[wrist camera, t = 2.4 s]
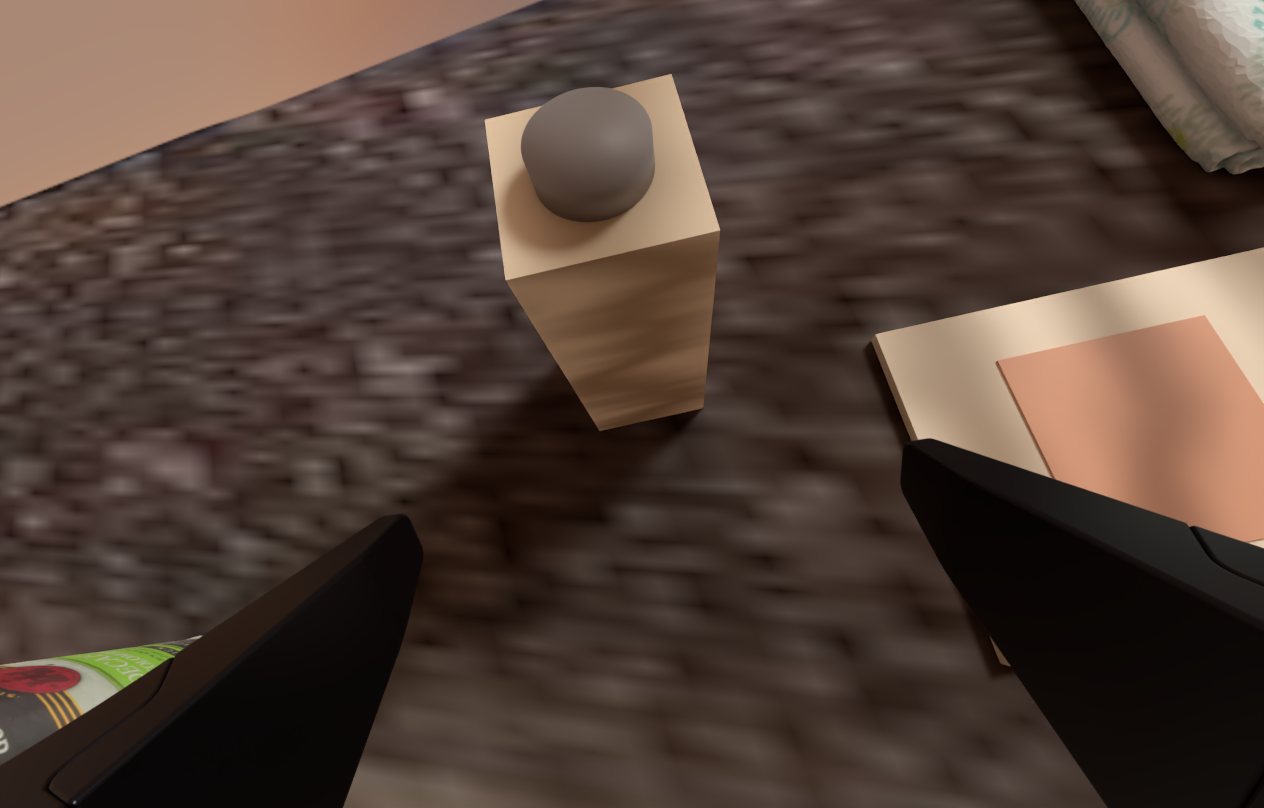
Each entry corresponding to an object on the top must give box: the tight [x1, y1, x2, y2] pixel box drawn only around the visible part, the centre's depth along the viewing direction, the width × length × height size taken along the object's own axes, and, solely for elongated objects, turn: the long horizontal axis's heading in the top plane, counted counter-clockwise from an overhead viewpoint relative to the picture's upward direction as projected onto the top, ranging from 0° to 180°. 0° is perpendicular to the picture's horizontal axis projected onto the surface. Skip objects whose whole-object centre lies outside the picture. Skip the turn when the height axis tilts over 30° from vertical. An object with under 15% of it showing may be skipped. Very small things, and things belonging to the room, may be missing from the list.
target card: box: [871, 248, 1264, 666], centre depth 21 cm, size 18×14×1 cm
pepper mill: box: [485, 74, 720, 431], centre depth 18 cm, size 5×5×14 cm
